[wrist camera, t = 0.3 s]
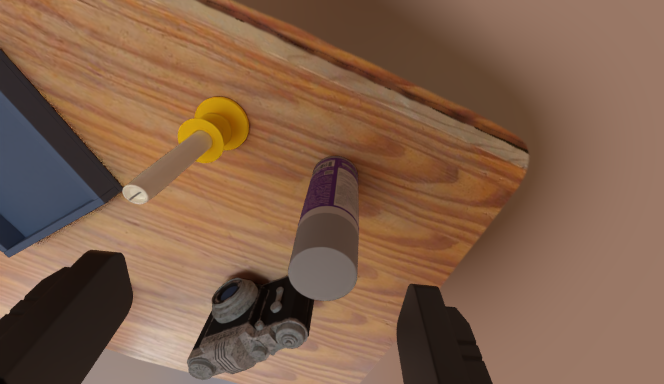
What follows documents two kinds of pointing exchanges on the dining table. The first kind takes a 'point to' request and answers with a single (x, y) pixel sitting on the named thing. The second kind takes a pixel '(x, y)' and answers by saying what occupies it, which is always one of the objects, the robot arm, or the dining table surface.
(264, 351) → the camera
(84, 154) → the tray
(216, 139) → the candle
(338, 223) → the container
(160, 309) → the dining table surface
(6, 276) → the dining table surface
